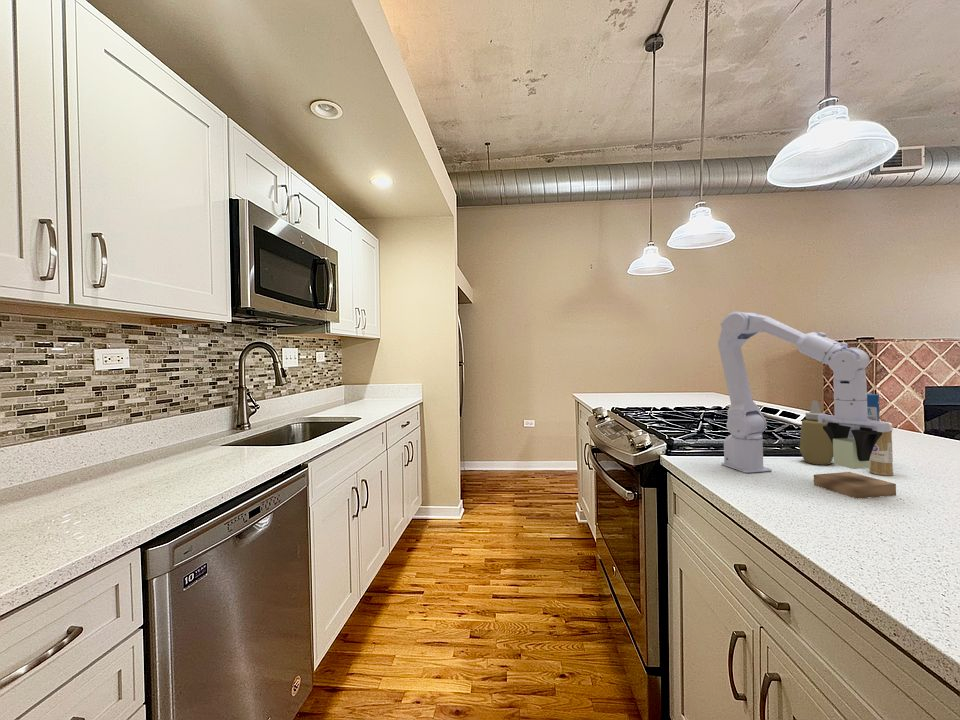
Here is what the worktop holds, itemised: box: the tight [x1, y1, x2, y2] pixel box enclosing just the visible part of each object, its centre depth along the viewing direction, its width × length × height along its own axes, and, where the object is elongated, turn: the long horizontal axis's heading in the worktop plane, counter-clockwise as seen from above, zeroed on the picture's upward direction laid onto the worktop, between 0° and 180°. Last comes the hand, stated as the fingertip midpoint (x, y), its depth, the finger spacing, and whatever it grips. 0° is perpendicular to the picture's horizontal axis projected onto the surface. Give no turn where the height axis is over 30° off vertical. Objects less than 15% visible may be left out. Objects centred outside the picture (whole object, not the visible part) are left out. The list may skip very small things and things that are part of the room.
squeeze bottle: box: [798, 400, 834, 466], centre depth 118 cm, size 8×8×18 cm
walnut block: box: [813, 471, 897, 500], centre depth 95 cm, size 10×10×3 cm
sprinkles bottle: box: [869, 421, 894, 477], centre depth 106 cm, size 5×5×14 cm
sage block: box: [832, 438, 871, 470], centre depth 95 cm, size 4×4×6 cm
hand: (852, 458), depth 95 cm, fingers closed on sage block, 4 cm apart
